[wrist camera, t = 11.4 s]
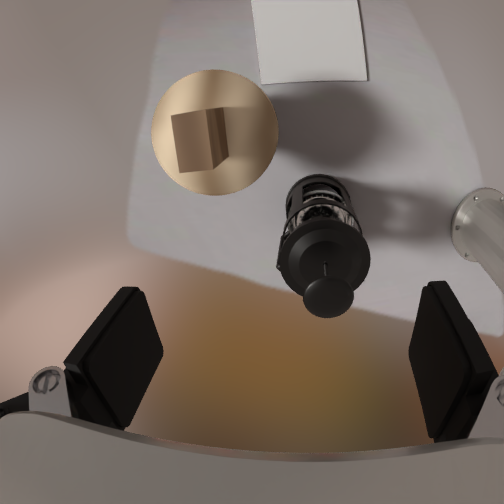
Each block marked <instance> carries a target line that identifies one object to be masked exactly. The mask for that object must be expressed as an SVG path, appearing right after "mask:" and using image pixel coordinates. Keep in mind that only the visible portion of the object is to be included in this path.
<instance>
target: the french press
mask: <svg viewBox="0 0 504 504" xmlns="http://www.w3.org/2000/svg"><path fill="white" fill-rule="evenodd" d="M314 184H323V185H327V186H330V187H331V188H333V189H334V190H335V191H336V192H337V193H338V194H339V195H337V194H335V193H333V192H330V191H325V190H316V191H312V192H308V193H306V194H304V195H303V189H304V188H306V187H308V186H310V185H314ZM286 216H287V221H286V223H285V226H284V231H283V235H282V236H281V240H280V246H279V252H278V259H277V265H276V268H277V269H278V270H279V271H280V272H281V274H282V277H283V279H284V280H285V282H286V283H287V285H288V286H289V287H290V288H291V289H292V290H293V291H295V292H296V293H297V294H299V295H301V296H303V302H304V305H305V307H306V308H307V310H308V311H309V312H311V313H312V314H313V315H315V316H318V317H322V318H333V317H337V316H340V315H341V314H343V313H345V312H346V311H347V310H348V309H349V308H350V306H351V305H352V303H353V300H354V292H353V291H354V290H356V289H357V288H358V287H359V286H360V285H361V283H362V282H363V281H364V279H365V278H366V276H367V274H368V271H369V267H370V251H369V248H368V245H367V243H366V240H365V239H364V237H363V235H362V230H361V227H360V225H359V222H358V220H357V217H356V215H355V212H354V210H353V208H352V205H351V201H350V196H349V194H348V192H347V190H346V189H345V187H344V186H343V185H342V184H341V183H340V182H339V181H338V180H336V179H335V178H333V177H330V176H327V175H322V174H314V175H310V176H306V177H304V178H302V179H300V180H299V181H297V182H296V183H295V184H294V185H293V186H292V188H291V189H290V191H289V193H288V196H287V199H286ZM353 218H354V219H353ZM353 220H355V221H356V222H357V224H358V227H359V232H358V231H357V230H356V229H355V228H354V227H353ZM287 226H288V230H289V231H287V232H286V233H285V231H286V228H287Z"/></svg>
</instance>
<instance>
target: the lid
mask: <svg viewBox="0 0 504 504" xmlns="http://www.w3.org/2000/svg"><path fill="white" fill-rule="evenodd" d="M278 135H279V131H278V121H277V116H276V113H275V110H274V108H273V105H272V103H271V101H270V100H269V98H268V97H267V95H266V94H265V93H264V92H263V91H262V89H261V88H259V87H258V86H257V85H256V84H255V83H254V82H252V81H250V80H249V79H247V78H245V77H243V76H241V75H239V74H236V73H233V72H229V71H224V70H204V71H199V72H195V73H193V74H190V75H188V76H186V77H184V78H182V79H180V80H179V81H177V82H176V83H175V84H173V85H172V86H171V87H170V88H169V89H168V90H167V91H166V93H165V94H164V95H163V96H162V98H161V100H160V101H159V103H158V105H157V107H156V110H155V113H154V116H153V120H152V129H151V136H152V144H153V148H154V152H155V154H156V157H157V159H158V161H159V163H160V165H161V166H162V168H163V169H164V171H165V172H166V173H167V174H168V175H169V176H170V177H171V178H172V179H173V180H174V181H175V182H177V183H178V184H179V185H181V186H182V187H184V188H186V189H188V190H190V191H193V192H196V193H199V194H204V195H227V194H231V193H235V192H237V191H240V190H242V189H244V188H246V187H248V186H249V185H251V184H252V183H253V182H255V181H256V180H257V179H258V178H259V177H260V176H261V175H262V174H263V173H264V171H265V170H266V169H267V167H268V166H269V164H270V162H271V160H272V158H273V156H274V153H275V151H276V147H277V143H278Z"/></svg>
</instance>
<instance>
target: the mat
mask: <svg viewBox="0 0 504 504" xmlns="http://www.w3.org/2000/svg"><path fill="white" fill-rule="evenodd" d="M251 2H252V10H253V18H254V25H255V33H256V42H257V50H258V58H259V67H260V76H261V84H262V85H264V84H275V83H289V82H307V81H367V74H366V63H365V54H364V45H363V37H362V30H361V23H360V16H359V9H358V3H357V0H251Z"/></svg>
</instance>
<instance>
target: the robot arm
mask: <svg viewBox="0 0 504 504" xmlns="http://www.w3.org/2000/svg"><path fill="white" fill-rule="evenodd" d="M451 237H452V242H453V245H454V247H455V249H456V250H457V252H458V253H459V254H460V255H461V256H462V257H463V258H464V259H466V260H468V261H472V262H479V264H480V265H481V266H482V267H483V268H484V270H485V271H486V272H487V273H488V275H489V276H490V277H491V278H492V280H493V281H494V282H495V284H496V285H497V286H498V288H499V289H500V290H501V291H502V293H503V294H504V195H503V194H502V193H501V192H499V191H497V190H495V189H492V188H481V189H477V190H475V191H473V192H472V193H470V194H469V195H467V196H466V197H465V198H464V199H463V200H462V202H461V203H460V204H459V206H458V208H457V210H456V211H455V214H454V217H453V220H452V225H451ZM162 357H163V346H162V343H161V341H160V338H159V335H158V332H157V330H156V327H155V324H154V321H153V318H152V315H151V312H150V309H149V306H148V303H147V300H146V297H145V294H144V292H143V291H140V289H139V288H138V287H122V288H120V290H119V291H118V292H117V293H116V295H115V296H114V297H113V298H112V300H111V301H110V302H109V303H108V304H107V306H106V307H105V308H104V309H103V311H102V312H101V313H100V315H99V316H98V317H97V318H96V320H95V321H94V322H93V323H92V325H91V326H90V327H89V329H88V330H87V331H86V332H85V334H84V335H83V336H82V338H81V339H80V340H79V342H78V343H77V344H76V346H75V347H74V348H73V349H72V351H71V352H70V354H69V355H68V356H67V358H66V359H65V360H64V362H63V363H64V365H65V366H66V369H65V370H64V371H63V370H62V369H61V368H59V367H57V366H50V367H45V368H43V369H41V370H40V371H38V372H37V373H36V374H35V375H34V376H33V377H32V379H31V381H30V383H29V392H27V393H24V394H22V395H20V396H17V397H15V398H12V399H10V400H7V401H5V402H2V403H0V504H504V368H503V369H502V371H501V373H500V375H498V373H497V371H496V369H495V367H494V365H493V363H492V361H491V358H490V357H489V354H488V352H487V351H486V349H485V347H484V345H483V343H482V341H481V339H480V337H479V335H478V333H477V331H476V329H475V328H474V326H473V324H472V322H471V321H470V320H469V319H468V317H467V315H466V314H465V312H464V310H463V308H462V307H461V305H460V303H459V302H458V300H457V298H456V296H455V295H454V293H453V291H452V290H451V288H450V287H449V285H448V283H447V282H446V281H431V282H429V283H428V285H427V286H424V287H423V289H422V293H421V298H420V303H419V308H418V313H417V317H416V321H415V326H414V330H413V334H412V338H411V342H410V346H409V360H410V363H411V367H412V370H413V374H414V378H415V382H416V385H417V389H418V393H419V397H420V401H421V405H422V409H423V414H424V418H425V423H426V427H427V431H428V436H429V437H430V438H434V443H433V444H427V445H419V446H412V447H404V448H395V449H384V450H373V451H362V452H344V453H343V452H342V453H277V452H258V451H245V450H234V449H224V448H215V447H207V446H200V445H193V444H186V443H181V442H174V441H169V440H164V439H158V438H153V437H148V436H144V435H139V434H135V433H130V432H126V431H124V429H125V427H128V426H129V425H130V423H131V421H132V419H133V417H134V415H135V413H136V411H137V409H138V407H139V405H140V402H141V400H142V398H143V396H144V394H145V392H146V390H147V388H148V386H149V384H150V382H151V379H152V377H153V375H154V373H155V371H156V369H157V367H158V365H159V363H160V361H161V359H162Z"/></svg>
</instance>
